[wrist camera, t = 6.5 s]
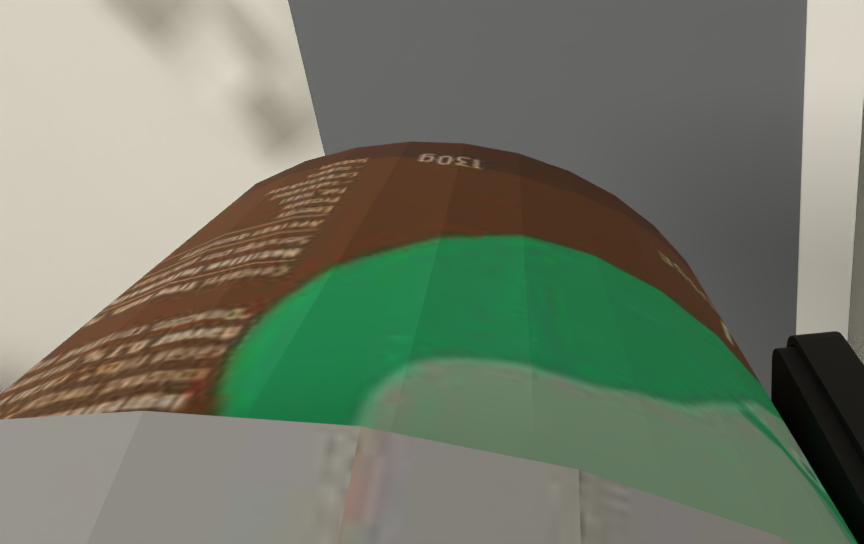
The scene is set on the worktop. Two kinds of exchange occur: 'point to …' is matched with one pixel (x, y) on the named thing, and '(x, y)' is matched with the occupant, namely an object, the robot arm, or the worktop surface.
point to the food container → (408, 378)
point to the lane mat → (636, 123)
